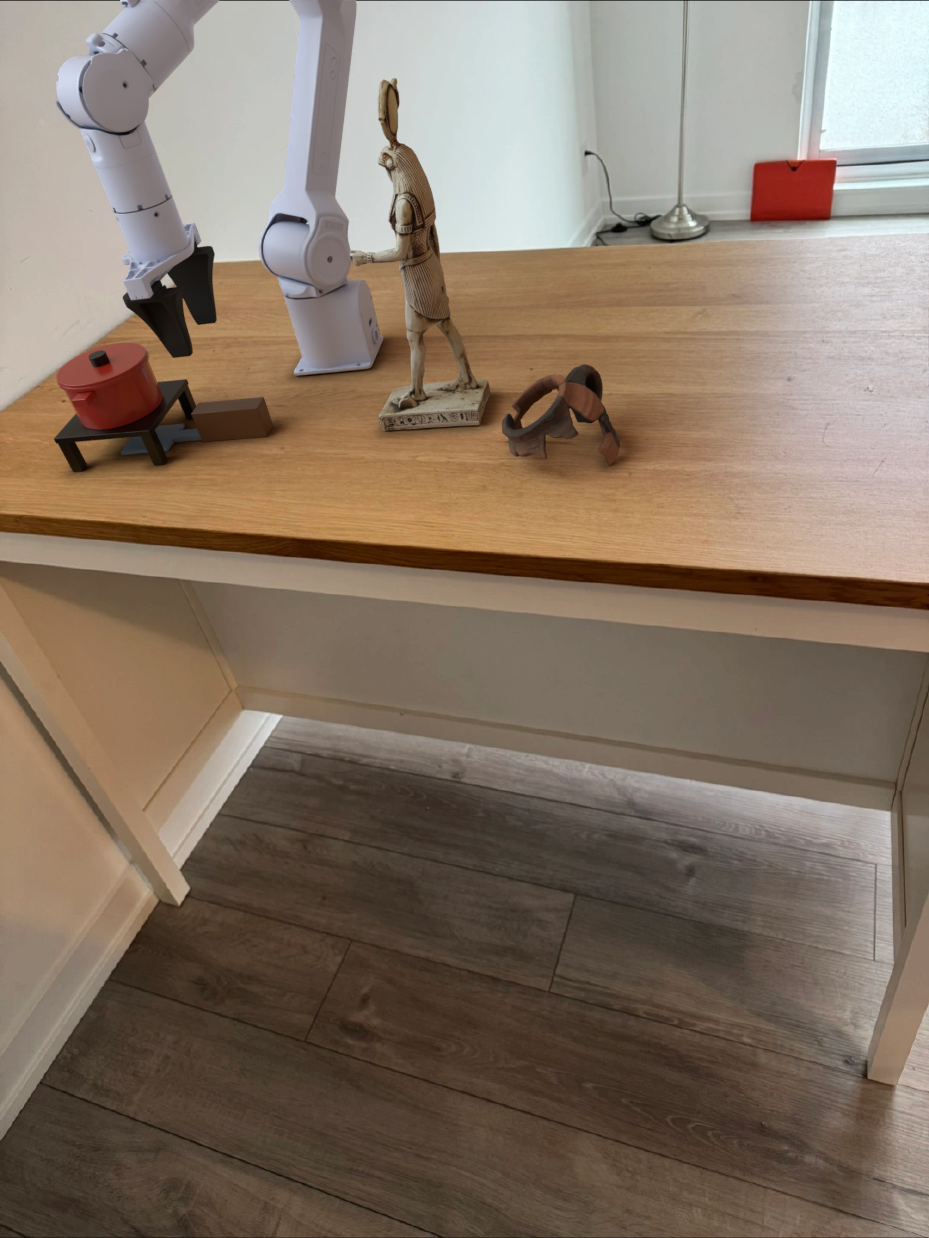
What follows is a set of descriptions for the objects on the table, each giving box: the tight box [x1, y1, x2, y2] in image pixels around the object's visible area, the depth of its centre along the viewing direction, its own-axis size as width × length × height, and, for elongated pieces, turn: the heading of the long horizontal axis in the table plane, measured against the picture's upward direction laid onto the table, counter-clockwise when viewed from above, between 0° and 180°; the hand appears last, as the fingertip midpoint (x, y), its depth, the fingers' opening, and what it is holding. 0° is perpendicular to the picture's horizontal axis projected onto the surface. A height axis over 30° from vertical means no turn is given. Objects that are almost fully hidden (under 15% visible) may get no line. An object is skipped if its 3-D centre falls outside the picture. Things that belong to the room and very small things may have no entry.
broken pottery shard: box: [501, 363, 621, 467], centre depth 80 cm, size 12×10×8 cm
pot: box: [53, 342, 197, 473], centre depth 93 cm, size 11×12×10 cm
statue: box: [350, 77, 491, 432], centre depth 81 cm, size 7×10×30 cm
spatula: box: [120, 396, 274, 456], centre depth 94 cm, size 16×5×3 cm, turn 83°
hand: (195, 338), depth 92 cm, fingers open, 7 cm apart
